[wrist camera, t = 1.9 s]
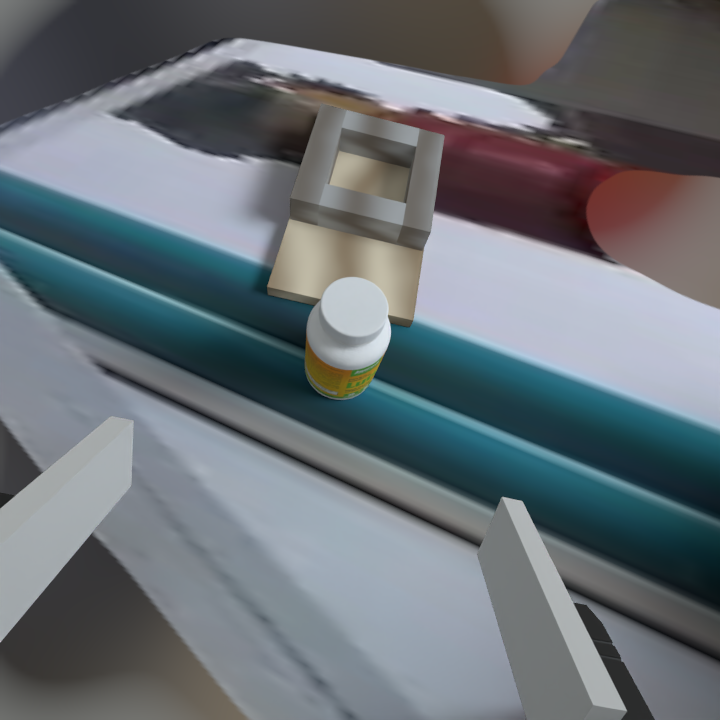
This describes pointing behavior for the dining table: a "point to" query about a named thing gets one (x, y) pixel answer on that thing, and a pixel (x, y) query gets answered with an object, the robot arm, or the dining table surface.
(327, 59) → the dining table surface
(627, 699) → the robot arm
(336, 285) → the supplement bottle
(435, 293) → the dining table surface
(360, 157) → the socket board
